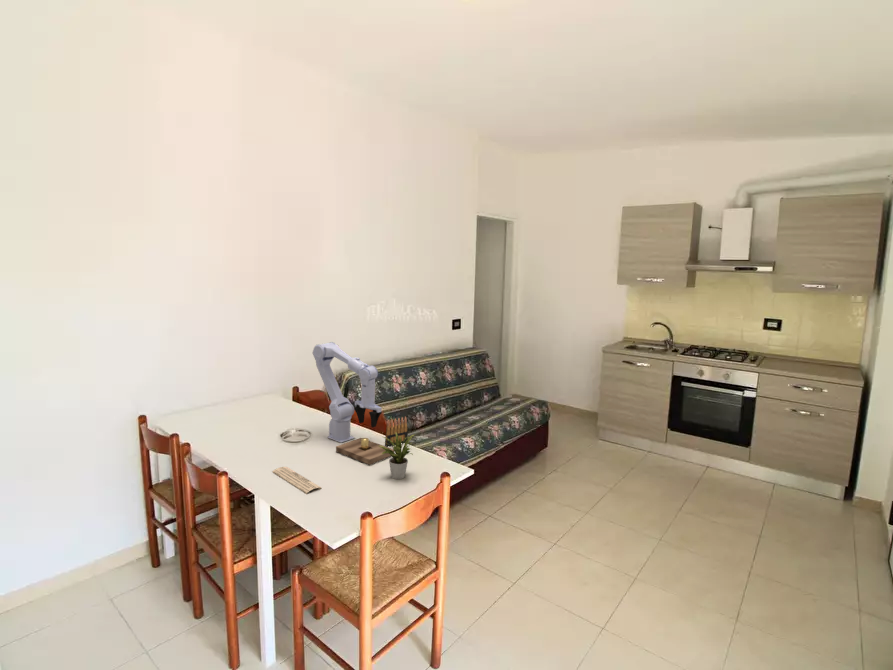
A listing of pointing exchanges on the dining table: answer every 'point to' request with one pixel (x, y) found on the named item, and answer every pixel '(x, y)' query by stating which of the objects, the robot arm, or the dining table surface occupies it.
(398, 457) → the house plant
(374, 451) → the walnut socket board
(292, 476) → the wooden slat
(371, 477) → the dining table surface
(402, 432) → the ammunition clip
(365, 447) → the brass peg
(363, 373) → the robot arm
